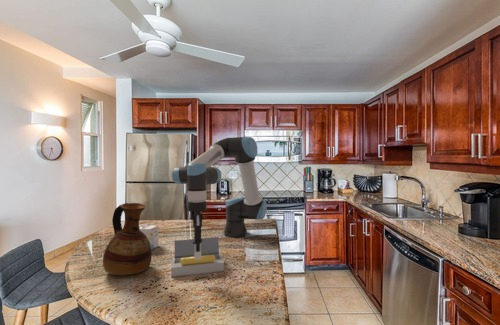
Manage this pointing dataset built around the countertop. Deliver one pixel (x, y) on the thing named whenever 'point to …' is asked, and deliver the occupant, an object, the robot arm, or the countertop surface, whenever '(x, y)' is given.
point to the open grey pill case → (196, 267)
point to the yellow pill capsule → (197, 260)
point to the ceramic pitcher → (127, 243)
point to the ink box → (150, 233)
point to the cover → (187, 247)
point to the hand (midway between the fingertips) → (197, 258)
